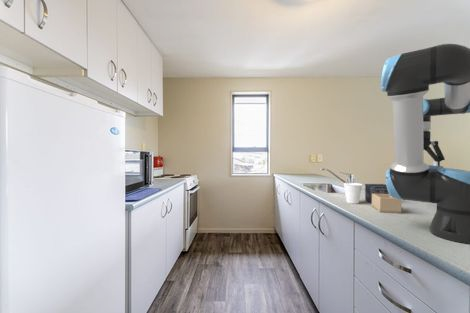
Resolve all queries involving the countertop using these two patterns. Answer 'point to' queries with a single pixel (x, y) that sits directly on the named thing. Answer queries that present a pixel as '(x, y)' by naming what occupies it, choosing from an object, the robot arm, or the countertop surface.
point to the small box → (374, 190)
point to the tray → (386, 203)
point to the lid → (434, 167)
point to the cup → (352, 192)
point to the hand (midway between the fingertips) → (419, 174)
